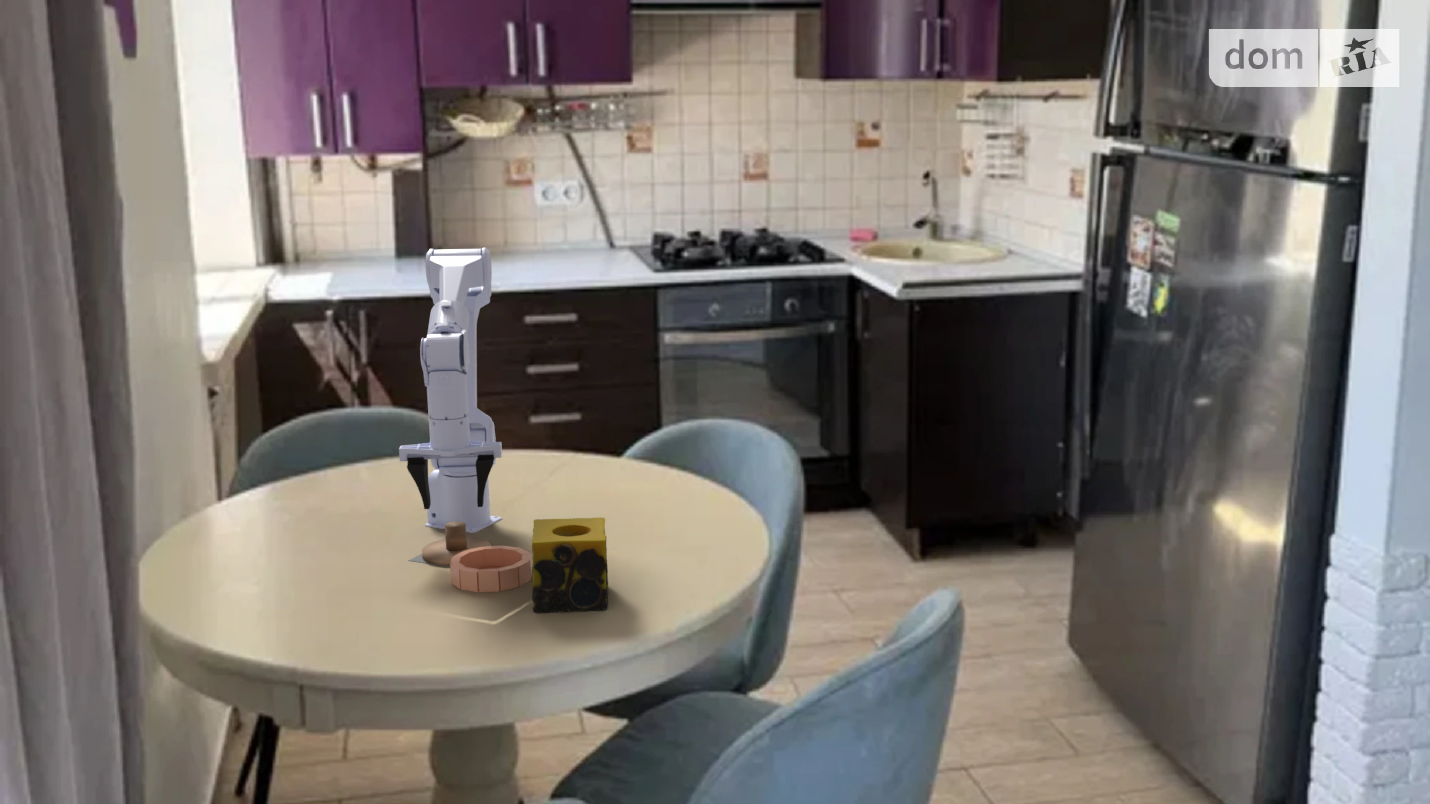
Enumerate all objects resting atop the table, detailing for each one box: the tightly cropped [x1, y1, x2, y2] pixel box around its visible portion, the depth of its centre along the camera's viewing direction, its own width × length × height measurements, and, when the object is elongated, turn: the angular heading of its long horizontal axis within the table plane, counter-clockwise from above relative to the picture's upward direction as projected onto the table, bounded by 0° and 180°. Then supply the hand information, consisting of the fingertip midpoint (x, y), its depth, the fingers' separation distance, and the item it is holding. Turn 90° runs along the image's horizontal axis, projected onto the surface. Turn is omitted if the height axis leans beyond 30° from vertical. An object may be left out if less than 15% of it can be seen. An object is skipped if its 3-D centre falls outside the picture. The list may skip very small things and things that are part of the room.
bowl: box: [449, 545, 533, 593], centre depth 192 cm, size 11×11×3 cm
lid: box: [421, 521, 492, 567], centre depth 202 cm, size 10×10×5 cm
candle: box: [531, 517, 609, 614], centre depth 184 cm, size 10×10×10 cm
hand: (454, 506), depth 201 cm, fingers open, 7 cm apart
